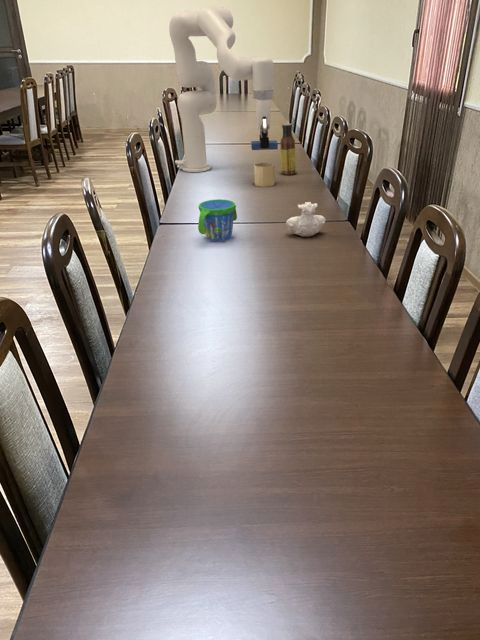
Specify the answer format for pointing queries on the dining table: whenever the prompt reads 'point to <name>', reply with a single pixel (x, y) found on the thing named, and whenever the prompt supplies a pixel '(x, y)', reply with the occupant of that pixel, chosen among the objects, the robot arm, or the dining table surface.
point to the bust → (305, 221)
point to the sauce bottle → (288, 151)
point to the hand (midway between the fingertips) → (264, 146)
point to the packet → (256, 146)
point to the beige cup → (264, 174)
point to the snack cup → (217, 219)
